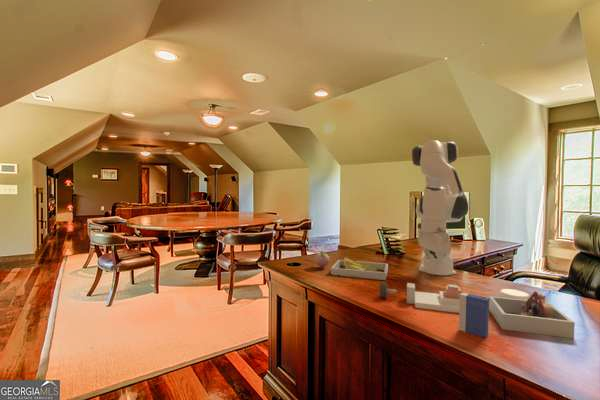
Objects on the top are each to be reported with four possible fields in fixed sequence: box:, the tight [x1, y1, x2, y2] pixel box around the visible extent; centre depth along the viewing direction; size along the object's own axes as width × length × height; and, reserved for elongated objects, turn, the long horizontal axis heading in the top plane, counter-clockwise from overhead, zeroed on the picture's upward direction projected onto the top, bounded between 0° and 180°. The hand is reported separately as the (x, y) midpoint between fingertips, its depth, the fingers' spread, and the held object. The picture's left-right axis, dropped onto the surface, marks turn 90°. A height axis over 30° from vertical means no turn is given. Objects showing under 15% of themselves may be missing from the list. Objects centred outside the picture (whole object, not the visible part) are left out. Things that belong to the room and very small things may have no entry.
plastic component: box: [343, 256, 378, 272], centre depth 171 cm, size 20×7×10 cm
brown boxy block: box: [444, 284, 462, 299], centre depth 122 cm, size 5×5×6 cm
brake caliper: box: [517, 291, 554, 319], centre depth 106 cm, size 11×11×12 cm
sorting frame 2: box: [488, 295, 576, 339], centre depth 107 cm, size 18×19×5 cm
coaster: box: [499, 288, 530, 300], centre depth 129 cm, size 10×10×4 cm
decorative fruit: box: [313, 250, 330, 269], centre depth 178 cm, size 9×8×10 cm
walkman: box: [458, 292, 490, 339], centre depth 99 cm, size 8×3×12 cm, turn 47°
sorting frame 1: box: [330, 259, 389, 281], centre depth 170 cm, size 21×28×4 cm
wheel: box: [379, 282, 398, 299], centre depth 130 cm, size 6×7×6 cm
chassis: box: [406, 282, 463, 314], centre depth 124 cm, size 14×23×6 cm, turn 71°
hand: (433, 261), depth 124 cm, fingers open, 8 cm apart
